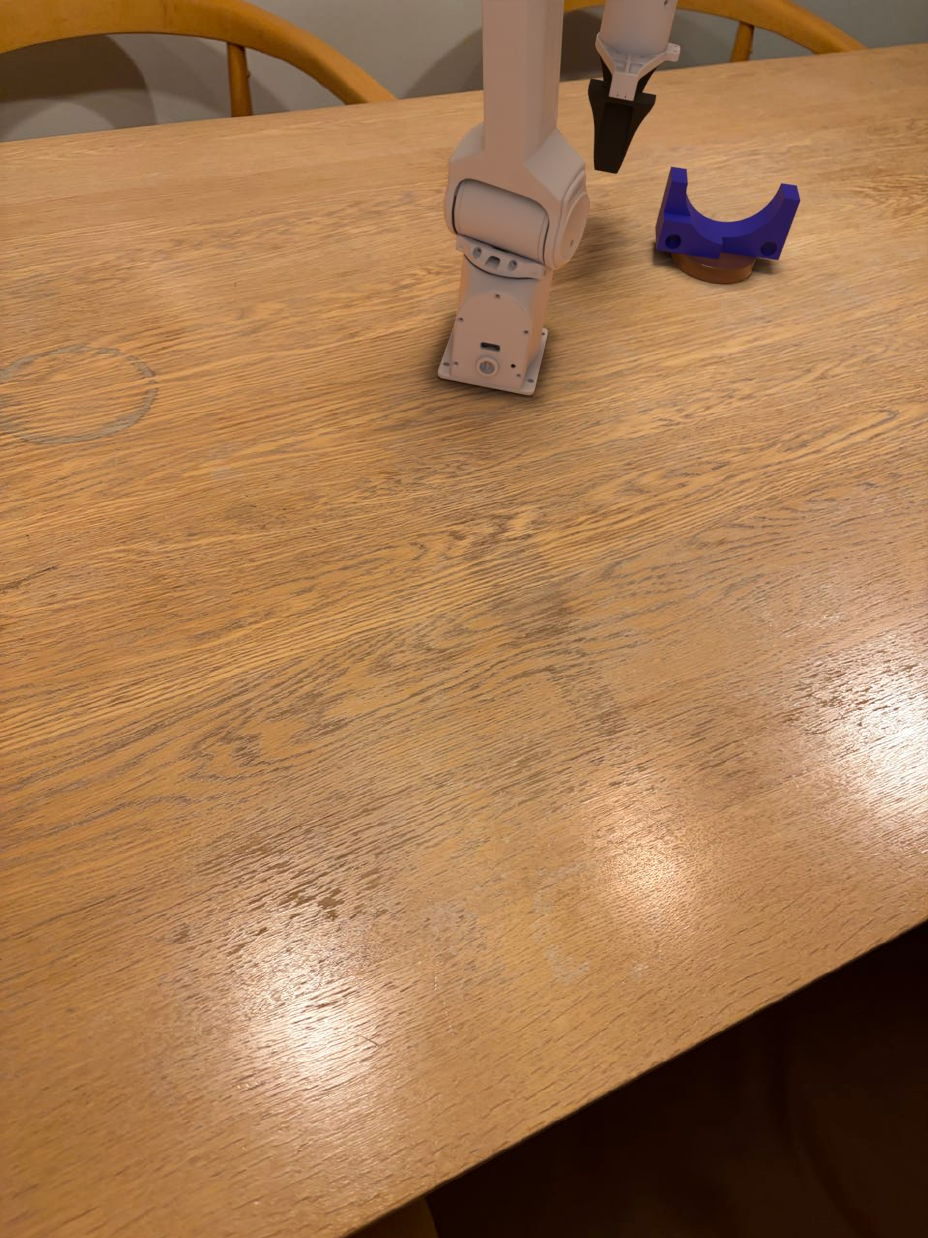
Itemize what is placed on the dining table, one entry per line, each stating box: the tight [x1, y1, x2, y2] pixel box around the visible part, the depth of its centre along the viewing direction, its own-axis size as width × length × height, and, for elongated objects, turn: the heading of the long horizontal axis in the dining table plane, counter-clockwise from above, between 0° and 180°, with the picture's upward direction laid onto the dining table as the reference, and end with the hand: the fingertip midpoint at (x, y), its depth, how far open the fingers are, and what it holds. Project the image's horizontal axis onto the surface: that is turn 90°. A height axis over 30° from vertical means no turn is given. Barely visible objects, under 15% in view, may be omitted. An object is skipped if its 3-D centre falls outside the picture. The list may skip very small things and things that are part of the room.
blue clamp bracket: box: [654, 166, 802, 261], centre depth 94 cm, size 12×4×6 cm, turn 84°
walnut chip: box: [670, 252, 757, 285], centre depth 97 cm, size 8×8×2 cm
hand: (609, 151), depth 89 cm, fingers open, 7 cm apart
